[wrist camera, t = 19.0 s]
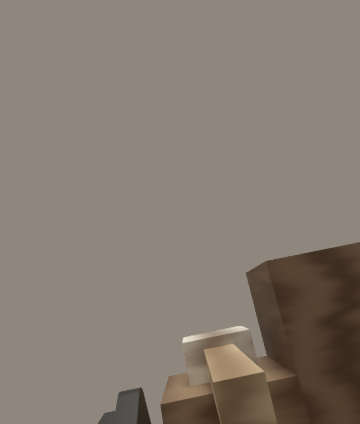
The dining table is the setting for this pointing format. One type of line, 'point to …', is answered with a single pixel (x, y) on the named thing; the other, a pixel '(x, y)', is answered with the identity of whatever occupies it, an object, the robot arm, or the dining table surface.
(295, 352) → the stepped stand
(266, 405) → the mallet
